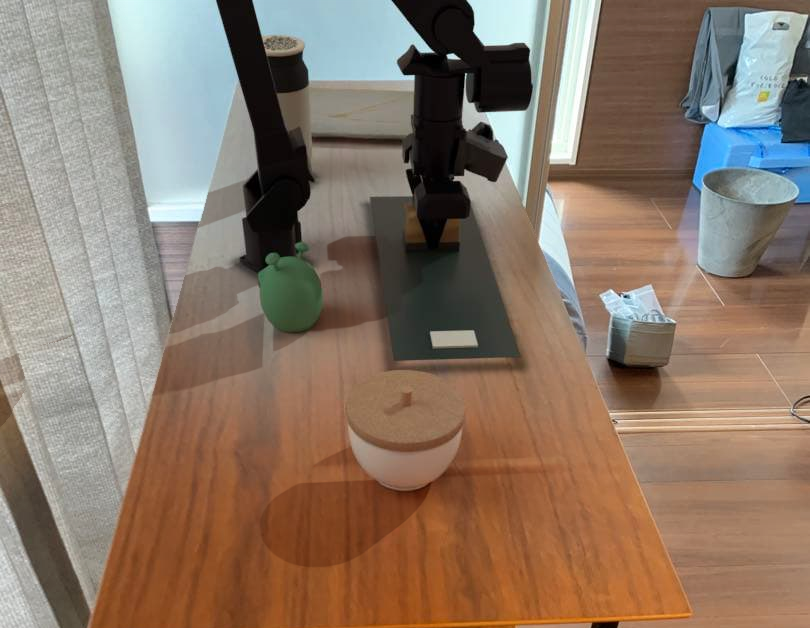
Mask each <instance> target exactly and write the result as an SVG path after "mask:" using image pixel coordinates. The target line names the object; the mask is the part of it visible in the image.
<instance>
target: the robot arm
mask: <svg viewBox="0 0 810 628" xmlns="http://www.w3.org/2000/svg"><path fill="white" fill-rule="evenodd" d="M390 1H391V2H392V4H394V6H395V7H396V8H397V9H398V11H399V12H400V13H401V14H402V16H403V17H404V18H405V20H406V21H407V22H408V23H409V25H410V26H411V27H412V29H413V30H414V31H415V32H416V33H417V35H418V36H419V37H420V38H421V39H422V40H423V42H424V43H425V44H426V46H427V47H428V48H429V49H430V50H431V52H420V50H419V49H418V48H417V47H416V45H415V44H410V45H409V48H408V50H406V51H405V52H404V53H403V54H402V55H401V56H400V57H399V58H398V59H396V65H397V66H398V68H399V70H400V72H401V74H402V75H403V76H405V77H406V76H414V78H413V80H414V81H413V82H414V83H413V92H414V106H413V115H411V126H412V130H413V133H410V134H409V135H408V136H407V137H406V138H405V139H404V140H402V144H401V145H402V147H401V148H402V149H401V157H402V160H403V164H410V167H411V168H406V169H405V175H406V178H407V183H408V186H409V189H410V193H411V194H412V195H411V196H413V197H412V201H413V205H414V209H415V211H416V215H417V218H418V220H419V222H420V225H421V228H422V231H423V234H424V236H425V239H426V242H427V245H428V248H429V249H437V248H438V245H439V242H440V239H441V236H442V233H443V230H444V228H445V225H446V222H447V220H448V219H466V218H468V217H469V216H470V205H471V206H472V201H471V197H470V195H469V191H468V189H467V187H466V186H465V185H464V184H463V182H462V181H460V180H455V178H456V177H465V172H470V173H471V174H475V175H477V176H479V177H483V178H484V179H486V180H487V181H488V182H492V183H497V181H498V180H499V177H500V175H501V173H502V171H503V169H504V166H505V165H506V162H507V161H508V154H507V152H506V150H505V147H504V145H503V144H502V143H500V142H499V140H498V139H496V138H495V139H494V130H493V128H492V126H491V124H489V123H486V122H483V121H480V122H478V123H477V124H476V125H475V126H474V127H472V129H471V128H470V129H468V130H466V128H465V127H464V125H463V110H464V99H465V98H464V97H465V96H466V100H467V103H469V104H473V106H474V109H475V111H476V112H477V113H479V114H481V113H482V114H483V113H507V112H525V111H527V110H528V108H529V107H530V105H531V101H532V96H533V90H534V85H533V83H532V79H533V77H532V67H531V61H530V56H531V48H530V47H529V46H528V45H527V44H526V43H525V42H514V43H510V44H499V45H497V44H496V45H485V44H484V43H483V42H482V41H481V39H480V38H479V37H478V35H477V34H476V33H475V32H474V29H475V25H476V24H475V11H474V9H473V6H472V5H471V3H470V2H469V1H468V0H390ZM215 2H216V5H217V9H218V12H219V16H220V19H221V24H222V26H223V31H224V33H225V36H226V40H227V44H228V47H229V51H230V54H231V58H232V61H233V64H234V69H235V71H236V76H237V79H238V82H239V85H240V89H241V92H242V95H243V98H244V102H245V106H246V110H247V113H248V116H249V120H250V123H251V126H252V131H253V141H254V150H255V159H256V165H257V166H256V167H257V168H256V170H255V171H254V172H253V173H252V174H251V176H250V177H249V178H248V179H247V180H246V181H245V182H244V183H243V185H242V195H243V201H244V203H243V204H244V210H245V217H242V218H241V223H242V231H243V239H244V247H245V248H244V249H245V254H243V255H241V256H239V262H240V264H242V265H243V266H245V267H248V268H249V269H251V270H253V271H255V272H256V273H257V274H258V273H259V272H260V271H262V270H263V269H264V268H266V267H267V266H269V264H267V263H266V261H265V260H266V257H267V256H268V255H269V254H270V253H277V254H278V255H279V256H280V258H282V257H297V254H299V251H298V250H297V249H296V247H295V244H297V243H299V242H303V238H302V237H303V236H302V235H303V234H302V223H301V222H300V221H299V214H298V213H299V211H300V210H302V209H303V208H304V207H305V206H306V205H307V203H308V201H309V200H310V199H311V195H312V194H311V193H312V192H311V191H312V190H311V183H315V182H316V179H315V176H314V170H313V171H312V168H311V164H310V160H309V157H308V156H307V150H306V144H305V141H304V137H303V133H302V129H301V127H297V128H295V129H293V130H291V131H290V129H289V127H288V125H287V123H286V121H285V119H284V117H283V115H282V112H281V108H280V104H279V100H278V96H277V92H276V89H275V85H274V81H273V77H272V73H271V69H270V66H269V62H268V58H267V54H266V50H265V46H264V42H263V39H262V36H263V35H262V31H261V27H260V24H259V19H258V16H257V12H256V9H255V5H254V1H253V0H215ZM452 54H453V55H455V57H457V59H456V58H448V55H452ZM464 95H465V96H464Z"/></svg>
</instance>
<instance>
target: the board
mask: <svg viewBox="0 0 810 628" xmlns="http://www.w3.org/2000/svg"><path fill="white" fill-rule="evenodd" d="M412 197H413V195H410V196H409V195H408V196H406V195H402V196H401V195H399V196H397V195H396V196H395V195H394V196H369V199H370V206H371V207H370V208H371V214H372V220H373V226H374V227H373V228H374V235H375V241H376V247H377V254H378V261H379V269H380V275H381V276H380V277H381V281H382V290H383V294H384V296H383V297H384V302H385V308H386V316H387V323H388V330H389V337H390V343H391V350H392V357H393V361H394V362H401V361H402V362H403V361H404V362H405V361H437V360H439V361H440V360H467V359H502V358H505V359H506V358H522V356H521V355H522V354H521V353H520V350H519V346H518V343H517V340H516V338H515V334H514V332H513V328H512V325H511V322H510V319H509V316H508V313H507V310H506V307H505V303H504V301H503V298H502V296H501V295H502V294H501V293H500V289H499V286H498V283H497V280H496V277H495V273H494V271H493V268H492V265H491V261H490V258H489V256H488V251H487V249H486V246H485V243H484V240H483V238H482V234H481V232H480V228H479V225H478V223H477V219H476V215H475V213H474V210H473V207H472V204H471V205H470V216H469V217H468V218H466V219H460V229H459V241H460V249H459V251H420V252H406V251H405V247H404V242H403V229H404V222H405V204H413V201H412ZM467 330H474V333H475V336H476V340H477V344H478V347H473V348H439V349H433V346H432V341H431V336H430V331H467Z"/></svg>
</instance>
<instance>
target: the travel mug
mask: <svg viewBox="0 0 810 628" xmlns="http://www.w3.org/2000/svg"><path fill="white" fill-rule="evenodd" d="M262 39H263V42H264V46H265V50H266V54H267V58H268V62H269V66H270V69H271V73H272V77H273V81H274V85H275V89H276V92H277V96H278V100H279V104H280V108H281V112H282V115H283V117H284V119H285V121H286V123H287V125H288V127H289V129H290V131H291V130H293V129H295V128H297V127H301V129H302V133H303V137H304V141H305V144H306V150H307V156H308V157H309V160H310V164H311V168H312V171H313V172H314V159H313V157H314V156H313V137H311V117H310V97H309V87H310V81H309V80H310V78H309V69H308V67H307V64H306V62H305V61H304V58H303V57H304V50H305V48H306V43H305V42H304V41H303V40H302V39H300V38H298V37H295V36H291V35H284V34H267V35H262Z"/></svg>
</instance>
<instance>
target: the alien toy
mask: <svg viewBox="0 0 810 628" xmlns="http://www.w3.org/2000/svg"><path fill="white" fill-rule="evenodd" d="M295 247H296V249H297V250H298V251H299V253H297V254H298V255H297V256H296V257H282V258H280V256H279V255H278V254H277V253H270V254H269V255H268V256H267V257H266V260H265V261H266V263H267V264H269V266H267V267H266V268H264V269H263V270H262V271H260V272H259V273H258V272H257V280H258V282H257V283H258V284H257V285H258V288H259V301H260V306H261V310H262V312H263V314H264V316H265V318H266V319H267V320H268V322H269V323H270V324H271V326H273V327H274V328H275V329H277V330H279V331H281V332H285V333H300V332H303V331H306V330H309V329H310V328H312V327H313V326H314V325H315V324H316V323H317V321H318V319H319V317H320V315H321V312H322V309H323V304H324V292H323V286H322V282H321V279H320V277H319V274H318V273H317V271H316V270H315V269H314V267H313V266H312V265H311V264H310V263H308V262H307V261H306V260H304V259H303V256H304V253H306V252H308V251H309V250H310V247H309V245H308V244H307V243H306V242H303V241H302V242H299V243H297V244H295Z"/></svg>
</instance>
